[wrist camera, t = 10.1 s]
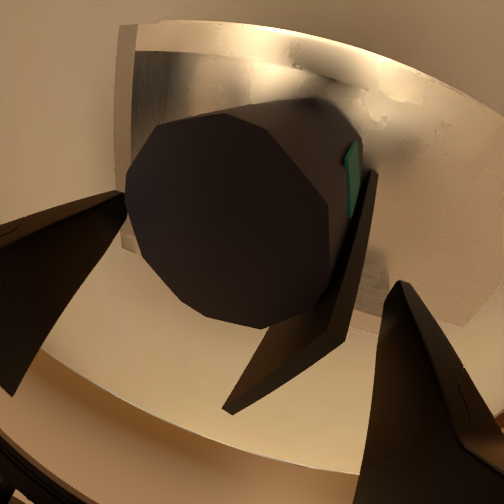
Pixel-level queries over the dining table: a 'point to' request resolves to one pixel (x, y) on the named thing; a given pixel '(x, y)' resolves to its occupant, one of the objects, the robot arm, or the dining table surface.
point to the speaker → (259, 226)
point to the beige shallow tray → (373, 143)
